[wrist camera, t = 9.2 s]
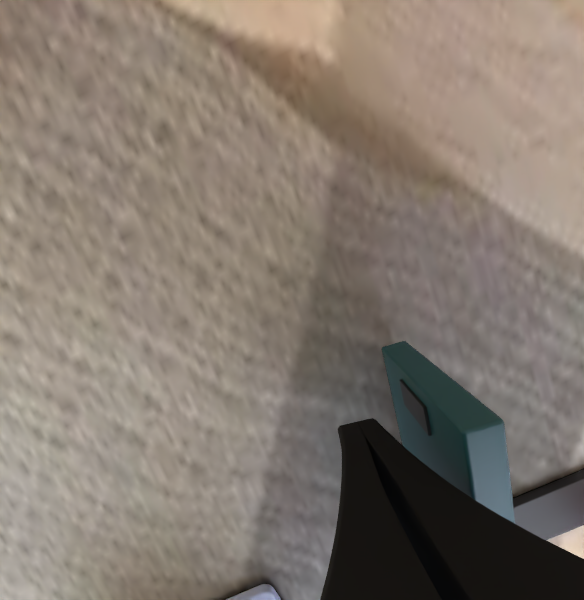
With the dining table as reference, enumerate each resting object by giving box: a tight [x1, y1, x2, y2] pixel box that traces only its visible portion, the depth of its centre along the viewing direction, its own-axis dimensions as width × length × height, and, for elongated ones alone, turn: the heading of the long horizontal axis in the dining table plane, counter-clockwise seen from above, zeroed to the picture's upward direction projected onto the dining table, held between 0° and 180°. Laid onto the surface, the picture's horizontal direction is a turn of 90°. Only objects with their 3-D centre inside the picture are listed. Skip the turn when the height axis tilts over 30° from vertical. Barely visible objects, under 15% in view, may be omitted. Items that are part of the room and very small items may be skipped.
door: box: [382, 341, 515, 523], centre depth 10 cm, size 12×1×5 cm, turn 16°
